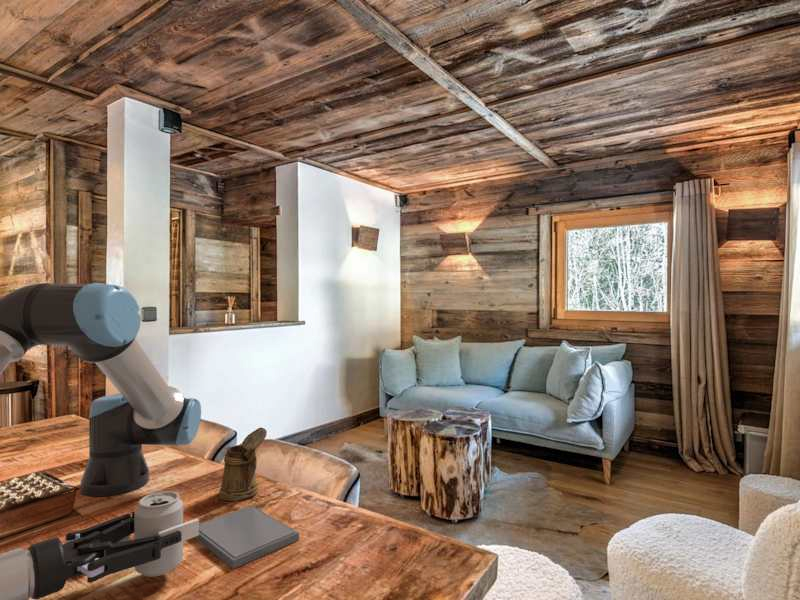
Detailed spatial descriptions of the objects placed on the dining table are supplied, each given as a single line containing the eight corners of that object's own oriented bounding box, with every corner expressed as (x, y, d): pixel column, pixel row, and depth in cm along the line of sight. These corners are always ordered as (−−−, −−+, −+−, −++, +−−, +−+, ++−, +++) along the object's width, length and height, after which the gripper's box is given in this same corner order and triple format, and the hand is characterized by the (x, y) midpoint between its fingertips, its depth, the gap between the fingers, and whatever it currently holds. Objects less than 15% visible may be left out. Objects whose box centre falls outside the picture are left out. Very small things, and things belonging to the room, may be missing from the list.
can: (133, 584, 77) (133, 510, 76) (135, 561, 83) (135, 493, 83) (184, 572, 80) (184, 501, 80) (181, 550, 87) (182, 485, 86)
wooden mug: (242, 510, 107) (243, 431, 107) (212, 494, 116) (212, 421, 116) (275, 498, 114) (276, 423, 114) (244, 483, 123) (245, 414, 123)
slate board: (189, 534, 96) (189, 526, 96) (251, 511, 107) (251, 504, 107) (233, 569, 84) (233, 559, 84) (298, 540, 95) (299, 531, 95)
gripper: (15, 570, 75) (165, 520, 92) (44, 634, 61) (214, 561, 78) (15, 524, 75) (165, 482, 92) (44, 577, 61) (214, 516, 78)
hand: (187, 519), depth 85 cm, fingers closed on can, 7 cm apart
